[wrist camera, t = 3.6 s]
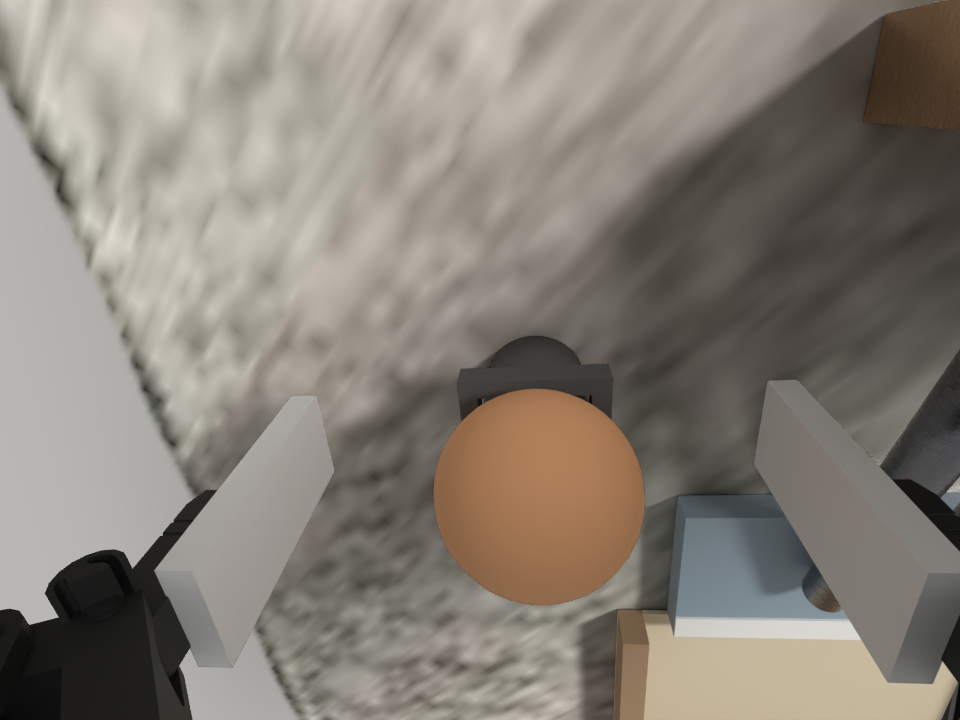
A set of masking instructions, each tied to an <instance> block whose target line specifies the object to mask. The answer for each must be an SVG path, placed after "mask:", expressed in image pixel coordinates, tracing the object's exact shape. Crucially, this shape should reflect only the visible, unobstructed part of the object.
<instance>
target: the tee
mask: <svg viewBox="0 0 960 720" xmlns="http://www.w3.org/2000/svg"><path fill="white" fill-rule="evenodd" d="M457 384H458V393H459V402H460V411H461V420H462V421H463V420H464V419H465V418H466V417H467V416H468V415H469V414H470V413H471V412H473V411H474V410H475V409H476V408H478V407H479V406H481V405H482V399H484V398H485V400H484V403H485V402H487V401H489V400H491V399H493V398H495V397H498V396H500V395H503V394H506V393H509V392H513V391H518V390H524V389H549V390H556V391H560V392H564V393H568V394H570V395H573V396H575V397H578V398H581V399H583V400H585V401H587V402H588V403H590V404H592V405H594V406H595V407H596V408H598V409H599V410H601V411H602V412H603V413H604V414H606V415H607V416H608V417H609V418H610V419H611V411H612V375H611V371H610V368H609V364H588V365H581V363H580V361H579V359H578V358H577V356H576V355H575V353H574V352H573V351H572V350H571V349H570V348H569V347H567V346H566V345H565V344H563V343H561V342H559V341H557V340H555V339H552V338H548V337H543V336H529V337H524V338H520V339H517V340H514V341H513V342H511V343H509V344H507V345H506V346H504V347H503V348H502V349H501V350H500V351H499V352H498V353H497V354H496V356H495V357H494V359H493V361H492V363H491V365H490V368H475V369H461V370H460V374H459V378H458V382H457ZM587 395H589V401H588V396H587Z"/></svg>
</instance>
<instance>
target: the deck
mask: <svg viewBox="0 0 960 720" xmlns="http://www.w3.org/2000/svg"><path fill="white" fill-rule="evenodd" d="M941 499H942V500H943V501H944V502H945V503H946V504H947V505H948V506H949V507H950V508H951V509H952V510H953V509H954V508H955V507H956V505H957V504H958V503H959V502H960V493H945V494H944V495H943V496H942V497H941ZM813 563H814V562H813V560H812V558H811V557H810V555H809V553H808V552H807V550H806V548H805V547H804V545H803V543H802V542H801V540H800V539H799V537H798V535H797V534H796V532H795V530H794V529H793V527H792V525H791V524H790V522H789V521H788V519H787V517H786V516H785V514H784V512H783V511H782V509H781V507H780V506H779V504H778V503H777V501H776V499H775V498H774V496H773V495H683V496H678V497H677V508H676V518H675V529H674V539H673V550H672V561H671V571H670V582H669V592H668V603H667V613H668V617H669V620H670V624H671V628H672V632H673V636H674V637H723V638H776V639H828V640H861V638H860V637H859V635H858V634H857V632H856V630H855V629H854V627H853V625H852V624H851V622H850V620H849V619H848V617H847V616H846V614H845V612H844V611H843V610H842V611H840V612H836V613H830V612H825V611H822V610H820V609H818V608H816V607H815V606H814V605H812V604H811V603H810V602H809V601H808V600H807V598H806V597H805V595H804V593H803V591H802V580H803V578H804V576H805V575H806V574H807V572H808V571H809V569H810V568H811V566H812V565H813Z"/></svg>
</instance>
